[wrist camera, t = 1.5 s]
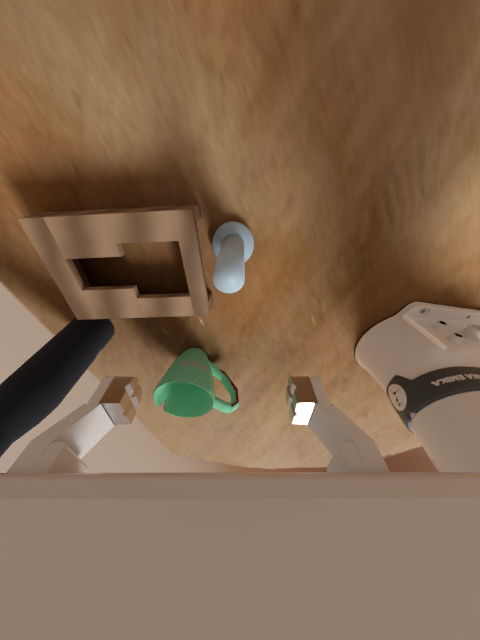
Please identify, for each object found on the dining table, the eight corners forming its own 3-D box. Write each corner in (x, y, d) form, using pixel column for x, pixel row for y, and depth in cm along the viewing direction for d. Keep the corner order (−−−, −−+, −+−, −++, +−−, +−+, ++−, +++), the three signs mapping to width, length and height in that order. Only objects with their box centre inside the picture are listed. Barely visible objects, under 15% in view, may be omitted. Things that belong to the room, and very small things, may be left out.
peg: (253, 220, 28) (258, 247, 18) (253, 261, 31) (258, 303, 22) (211, 222, 28) (193, 250, 19) (215, 263, 32) (203, 305, 22)
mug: (164, 364, 44) (146, 408, 36) (178, 330, 39) (161, 373, 31) (229, 385, 48) (226, 429, 40) (249, 356, 43) (251, 401, 34)
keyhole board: (199, 203, 27) (192, 209, 23) (212, 300, 35) (209, 315, 31) (47, 212, 28) (17, 218, 24) (94, 304, 36) (77, 319, 32)
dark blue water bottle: (72, 308, 36) (-278, 593, 12) (111, 314, 37) (-147, 597, 13) (81, 336, 40) (-171, 599, 16) (117, 341, 41) (-74, 602, 16)
